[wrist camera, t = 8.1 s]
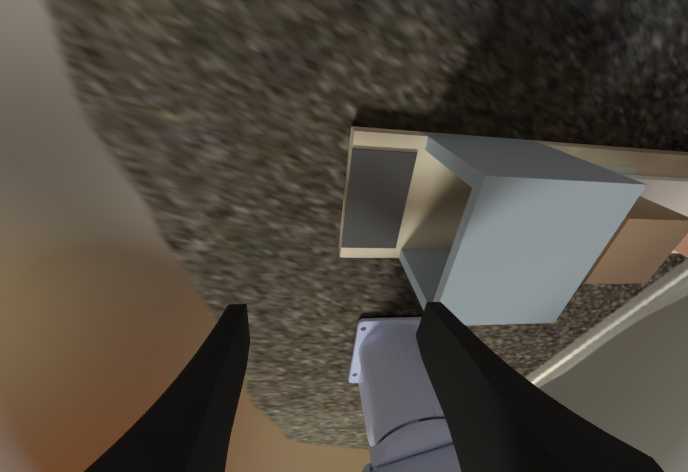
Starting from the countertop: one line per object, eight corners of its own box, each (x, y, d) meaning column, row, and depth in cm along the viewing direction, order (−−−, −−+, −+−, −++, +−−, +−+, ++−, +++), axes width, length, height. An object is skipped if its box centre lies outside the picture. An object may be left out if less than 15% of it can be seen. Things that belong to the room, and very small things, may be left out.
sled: (684, 247, 25) (766, 290, 21) (504, 245, 23) (553, 293, 18) (740, 181, 22) (851, 214, 18) (538, 169, 19) (608, 204, 15)
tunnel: (487, 250, 25) (554, 322, 18) (394, 248, 23) (430, 326, 17) (533, 140, 20) (647, 184, 13) (421, 131, 19) (485, 175, 12)
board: (632, 251, 27) (648, 261, 26) (338, 248, 23) (340, 259, 22) (705, 153, 22) (728, 159, 21) (351, 126, 18) (354, 131, 17)
